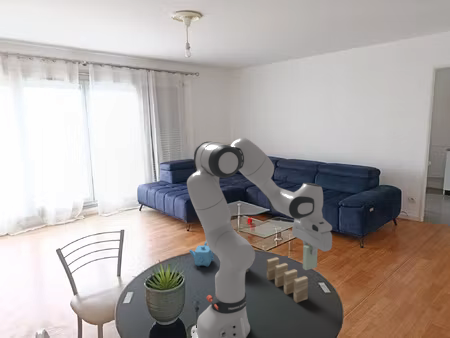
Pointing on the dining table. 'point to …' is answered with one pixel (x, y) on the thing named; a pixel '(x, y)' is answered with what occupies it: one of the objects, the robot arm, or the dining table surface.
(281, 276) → the domino
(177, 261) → the dining table surface
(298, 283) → the domino
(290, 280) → the domino
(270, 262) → the domino
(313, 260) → the end domino
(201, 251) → the teapot
